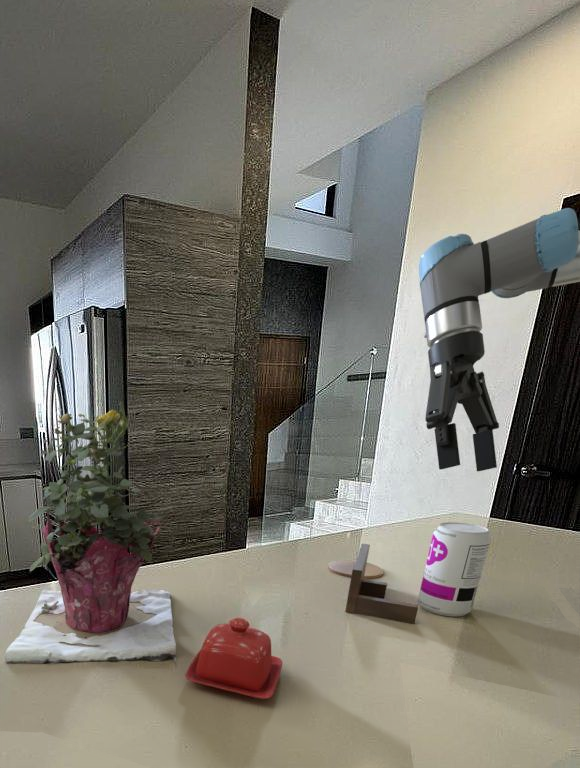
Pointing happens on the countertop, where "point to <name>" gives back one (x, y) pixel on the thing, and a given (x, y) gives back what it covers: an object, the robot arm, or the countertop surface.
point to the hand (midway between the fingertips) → (469, 468)
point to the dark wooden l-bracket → (374, 595)
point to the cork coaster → (347, 566)
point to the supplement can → (454, 568)
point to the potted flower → (95, 562)
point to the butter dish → (237, 661)
